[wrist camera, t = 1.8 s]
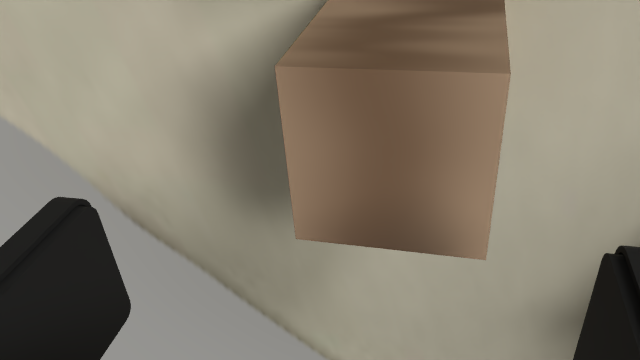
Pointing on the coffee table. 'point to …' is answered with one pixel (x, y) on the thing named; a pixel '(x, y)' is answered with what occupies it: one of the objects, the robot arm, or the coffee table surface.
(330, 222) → the walnut block
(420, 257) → the coffee table surface
